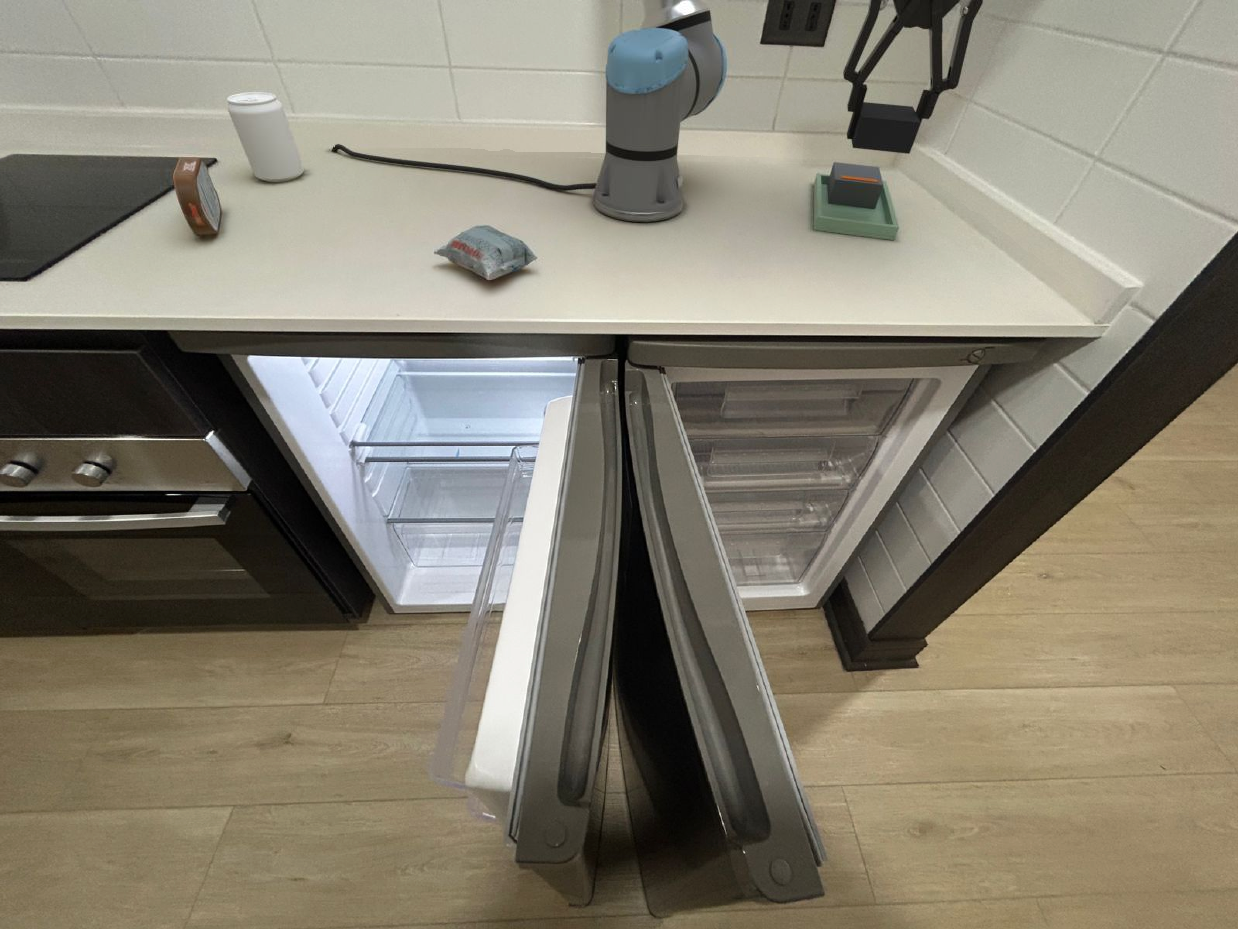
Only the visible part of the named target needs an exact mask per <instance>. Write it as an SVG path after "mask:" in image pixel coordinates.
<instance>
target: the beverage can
mask: <svg viewBox="0 0 1238 929" xmlns="http://www.w3.org/2000/svg"><path fill="white" fill-rule="evenodd" d="M226 100H227V111H228V114H229V117H230V119H231V121H232V124H233V127H234V129H235V131H236V133H237V136H238V138H239V141H240V143H241V145H242V149H243V150H244V154H245V156H246V158H247V161H248V163H249V165H250V168H251V171H252V173H253V175H254V177H255V178H257V179H259V180H263V181H264V182H268V183H269V182H271V183H282V182H288V181H292V180H295V179H297V178H298V177H300V176H301V175H302V174H303V173H304V172H305V168H304V165H303V161H302V159H301V156H300V152H299V150H298V147H297V144H296V141H295V139H294V135H293V133H292V130H291V127H290V124H289V121H288V118H287V116H286V113H285V112H286V111H285V110H284V107H283V104H282V103H281V102H280V101H279V100H278V99H277V96H276V94H274V93H272V92H265V91H264V92H263V91H248V92H247V91H246V92H241V93H236V94H232V95H229V96H228V97H227V98H226Z"/></svg>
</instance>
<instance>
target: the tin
mask: <svg viewBox="0 0 1238 929" xmlns="http://www.w3.org/2000/svg"><path fill="white" fill-rule="evenodd" d="M172 179H173V185H174V186H173V187H174V191H175V194H176V198H177V200H178V204H179V206H180V209H181V211H182V214H183V216H184V219H185V221H186V223H187V224H188V227H189V228H190V230H191V231H192V233H193V234H194V235H195V237H201V236H213V235H217V234H219V230H220V224H221V218H222V206H221V202H220V196H219V194H218V192H217V190H216V188H215V186H214V184H213V181H212V178H211V175H210V173H209V169H208V166H207V164H206V162H205V161H204V160H203V159H202V158H200V157H183V156H180V157H179V158H178V161H177V164H176V166H175V169H174V170H173V174H172Z"/></svg>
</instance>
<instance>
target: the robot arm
mask: <svg viewBox="0 0 1238 929" xmlns="http://www.w3.org/2000/svg"><path fill="white" fill-rule="evenodd" d="M641 1H642V2H641V3H642V7H643V14H644V16H643V20H642V23H641V25H640V27H639V29H630V30H627V31H625V32H622V33H619V34H618V35H616V36H615V37H614V38H613V39H612V40H611V41H610V43H609V45H608V49H607V59H606V65H605V85H606V86H605V152H604V158H603V160H602V163H601V164H602V165H601V167H600V171H599V174H598V177H597V181H596V182H591V183H589V182H588V183H586V182H585V183H575V184H556V183H552V182H549V181H545V180H542V179H539V178H536V177H532V176H528V175H523V174H518V173H512V172H508V171H502V170H496V169H489V168H483V167H474V166H466V165H459V164H449V163H448V164H447V163H440V162H439V163H438V162H431V161H430V162H429V161H419V160H409V159H403V158H402V159H401V158H395V157H394V158H393V157H386V156H379V155H373V154H366V153H361V152H357V151H353V150H351V149H349V148H348V147H346V146H344V145H343V144H341V143H336V144H334V145H335V147H334V145H333V146H332V149H331V153H337V152H338V151H340V150H341V151H342V152H343V153H345V154H347V155H348V156H350V157H353V158H357V159H362V160H367V161H372V162H378V163H379V162H380V163H387V164H393V165H399V166H401V165H402V166H410V167H419V168H428V169H438V170H449V171H455V172H456V171H459V172H464V173H465V172H466V173H473V174H475V173H476V174H482V175H488V176H489V175H490V176H495V177H501V178H507V179H512V180H518V181H523V182H527V183H531V184H535V185H538V186H541V187H544V188H546V189H547V188H548V189H551V190H555V191H561V192H570V191H578V190H594V193H593V204H594V207H595V208H596V209H597V210H598V211H599V212H600V213H602V214H603V215H606V216H608V217H610V218H613V219H617V220H622V221H627V222H634V223H635V222H636V223H644V222H645V223H650V222H658V221H659V222H660V221H664V220H668V219H671V218H674V217H675V216H677V215H679V214H680V213H681V211H682V210H683V207H684V189H683V183H684V181H683V175H682V174H683V173H680V169H679V168H680V167H679V162H678V149H679V140H680V139H679V138H680V132H681V131H680V129H681V123H682V122H683V121H685V120H687V119H688V118H691V117H693V116H697V115H700V114H701V113H702V112H704V111H705V110H707V108H708V107H709V106H711V104H712V103H714V102H715V100H716V99H717V98H718V96H719V95H720V93H721V91H722V89H723V87H724V85H725V81H726V77H727V71H728V60H727V52H726V50H725V47H724V45H723V43H722V40H721V39H720V37H718V36H717V34H715V33H714V29H713V21H712V14H711V8H710V6H708V5H707V4H706V3H704V2H703V1H702V0H641ZM889 1H890V0H869V3H868V11H867V14H866V15H865V18H864V21H863V24H862V25H861V28H860V31H859V33H858V35H857V37H856V39H855V42H854V44H853V47H852V50H851V53H850V54H849V56H848V58H847V59H848V60H847V61H846V64H845V66H844V68H843V72H842V75H843V79H844V80H845V81H847V82H849V83H851V84H852V87H851V90H850V93H849V97H848V101H847V105H846V107H847V112H849V113H852V114H851V118H850V121H849V124H848V129H847V130H846V139H847V140H851V139H852V138H853V135H854V132H855V128H856V125H857V121H858V118H859V115H860V111H861V109H862V105H863V102H865V98H866V94H867V92H868V86H867V84H866V83H865V82H866V81H867V79H868V77H869V76H870V75H871V73H872V72H873V71H874V69H875V68H876V66H877V65H878V64H879V62H880V60H881V59H882V58H883V57H884V55H885V53H886V52H887V50H889V47H890V46H891V45H892V43H893V41H894V40H895V39H896V38H897V36H898V35H899V34H900V33H901V31H903V28H904V29H912V28H920V29H922V30H928V37H929V38H928V40H929V85H930V88H929V89H923V90H922V93H921V95H920V98H919V101H918V104H917V106H916V109H915V112H916V114H917V116H918V118H919V120H920V122H921V123H922V122H923V120H930V118H931V117H932V115H933V113H934V110H935V107H936V104H937V102H938V100H939V97H940V95H941V94H942V93H943V92H945V91H948V90H955V89H956V88H957V87H958V86H959V83H960V77H961V75H962V70H963V65H964V62H965V58H966V54H967V49H968V45H969V40H970V36H971V32H972V27H973V23H974V20H975V18H976V16H977V15H978V13H979V11H980V9H981V8H982V5H983V3H984V0H892V2H893V6H894V9H895V13H896V14H895V15H894V18H893V19H892V20H891V22H890V23H889V25H888V27H887V29H886V30H885V31H884V33H883V34H882V36H881V38H880V39H879V40H878V42H877V44H876V45H875V46H874V48H873V49H872V51H871V52H870V54H869V55H868V57H866V60H865V61H864V63H863V64H862V65H861V67H860V69H859V70H858V71H856V68H857V66H858V64H859V62H860V60H861V57H862V55H863V53H864V50H865V47H866V45H867V43H868V41H869V39H870V37H871V35H872V32H873V30H874V27H875V24H876V22H877V20H878V17H879V15H880V11H883V10H885V8H886V7H887V4H888V2H889ZM957 5H959V8H958V14H959V16H960V18H959V22H958V25H957V29H956V34H955V38H954V42H953V48H952V52H951V56H950V60H949V66H948V70H947V74H946V77H943V74H944V73H943V34H944V33H943V32H944V30H943V29H944V27H943V25H944V24H943V23H944V22H943V20H944V18H945V17H946V16H947V15H948V14H949V13H950V12H951V11H952V10H953V9H954V8H955V7H956V6H957ZM920 127H921V125H920V126H919V129H918V132H917V134H918V133H919V130H920ZM916 138H917V136H916V137H915V140H916ZM915 140H914V142H915Z"/></svg>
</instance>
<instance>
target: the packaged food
mask: <svg viewBox="0 0 1238 929" xmlns="http://www.w3.org/2000/svg"><path fill="white" fill-rule="evenodd" d="M433 254H434V255H438V256H440V257H444V258H446V259H447V260H448V261H449V262H450V263H452V264H454V265H457V266H459V267H462V268H464V269H467V270H469V271H472V272H473V273H474V274H476V275H478V276H481V277H482V278H484V279H485V280H487V281H492V280H495V279H497V278H500V277H503V276H506V275H509V274H510V273H512V272H513V273H514V272H515V271H518V270H520V269H523V268H525V267H526V266H529V265H530V264H531V263H532V262H533V261H536V260H537V259H538V256H537V255H536V254H535V253H534V252H533V251H532V250H531V248H530V247H529V246H528V245H527V244H526V243H525V242H524V241H523V240H522V239H520V238H516V237H514V236H512V235H509V234H507V233H505V232H502V231H500V230H498V229H496V228H495V227H493V226H492V225H489V224H488V225H486V224H485V225H475V226H472V227H471V228H469V229H466V230H464V231H461V232H460V233H459V234H458V235H456V236H454V237H453V238H451V239H450V240H449V241H448V242H447V244H446V245H445V244H443V245H442V246H441V247H440V248H437V249H435V250H434V251H433Z"/></svg>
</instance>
